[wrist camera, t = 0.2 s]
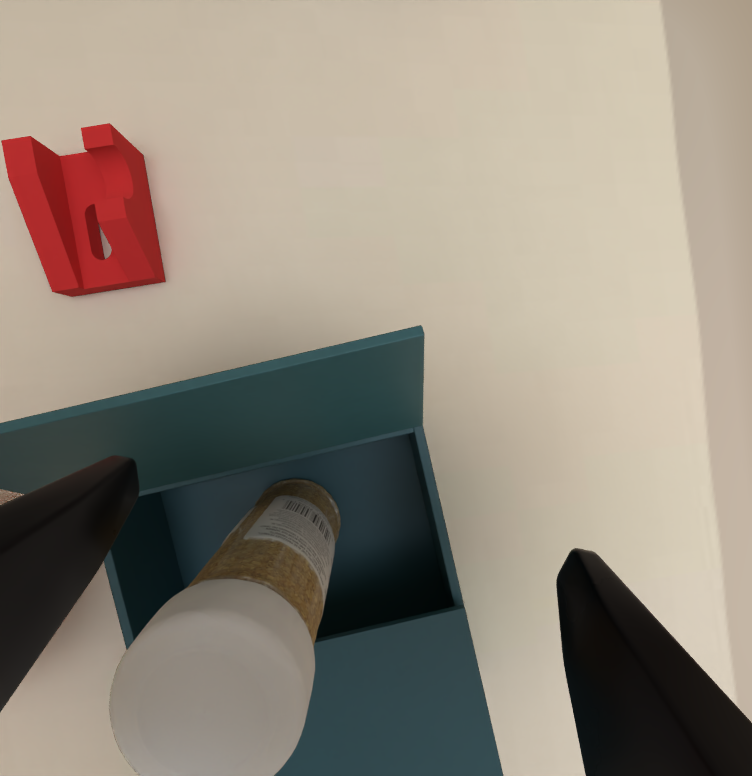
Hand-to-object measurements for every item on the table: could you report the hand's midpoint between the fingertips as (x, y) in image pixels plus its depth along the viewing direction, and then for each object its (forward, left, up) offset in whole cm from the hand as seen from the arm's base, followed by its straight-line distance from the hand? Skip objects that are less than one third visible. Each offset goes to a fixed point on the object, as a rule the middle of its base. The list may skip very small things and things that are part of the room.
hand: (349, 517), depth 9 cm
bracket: (+13, +10, -15) cm, 22 cm away
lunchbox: (-7, +4, -15) cm, 17 cm away
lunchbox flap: (+2, +4, -5) cm, 7 cm away
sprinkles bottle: (-4, +4, -14) cm, 15 cm away
